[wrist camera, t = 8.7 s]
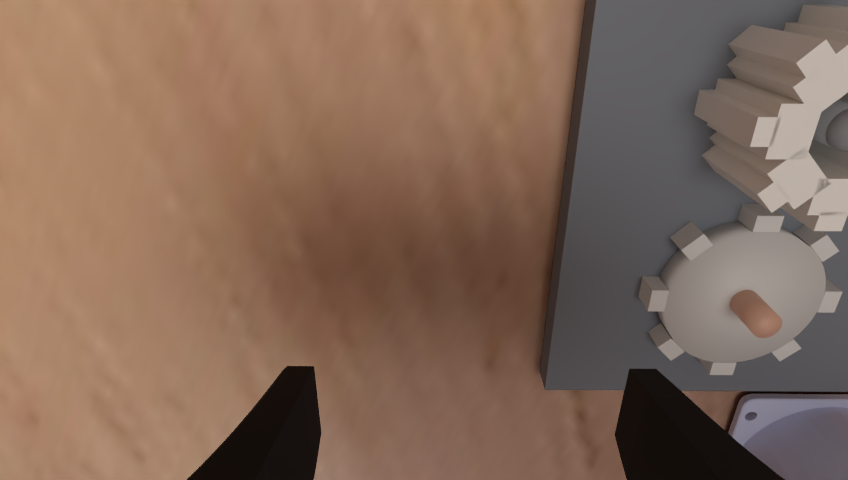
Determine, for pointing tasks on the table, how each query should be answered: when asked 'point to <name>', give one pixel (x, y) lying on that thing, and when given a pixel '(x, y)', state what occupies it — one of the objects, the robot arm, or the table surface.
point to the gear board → (683, 221)
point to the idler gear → (784, 117)
